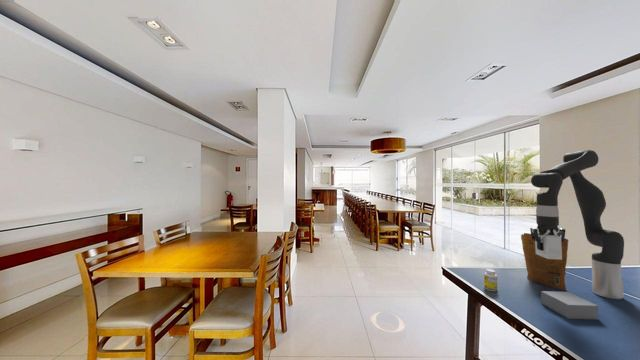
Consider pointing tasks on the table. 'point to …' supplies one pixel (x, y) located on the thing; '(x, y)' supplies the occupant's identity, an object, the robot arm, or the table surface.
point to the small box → (550, 247)
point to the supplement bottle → (490, 280)
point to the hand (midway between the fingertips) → (548, 250)
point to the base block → (569, 305)
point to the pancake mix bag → (544, 264)
